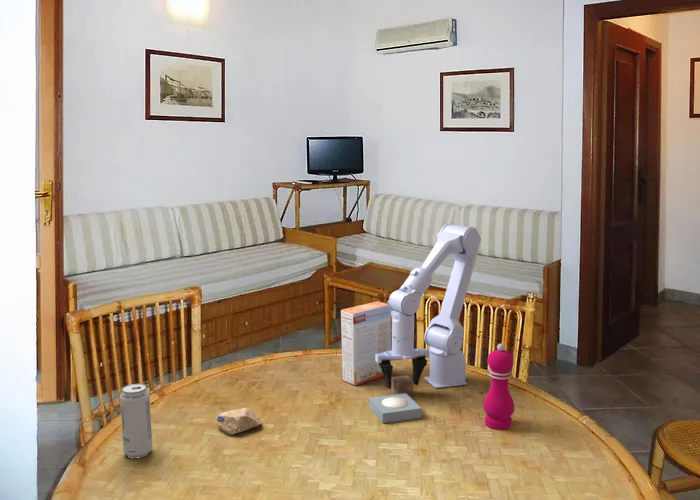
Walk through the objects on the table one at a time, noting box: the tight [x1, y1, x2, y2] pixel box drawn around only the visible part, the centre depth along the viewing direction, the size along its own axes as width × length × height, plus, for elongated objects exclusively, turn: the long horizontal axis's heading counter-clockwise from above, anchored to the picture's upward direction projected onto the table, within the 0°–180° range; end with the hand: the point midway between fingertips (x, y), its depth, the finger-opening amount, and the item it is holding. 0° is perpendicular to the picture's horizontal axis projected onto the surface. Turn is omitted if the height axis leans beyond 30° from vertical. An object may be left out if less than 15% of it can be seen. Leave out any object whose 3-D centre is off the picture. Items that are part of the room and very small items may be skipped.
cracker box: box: [340, 301, 392, 387], centre depth 190 cm, size 14×6×21 cm, turn 130°
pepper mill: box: [482, 343, 515, 431], centre depth 159 cm, size 7×7×20 cm
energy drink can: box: [119, 383, 153, 459], centre depth 146 cm, size 6×6×15 cm
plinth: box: [368, 393, 422, 424], centre depth 168 cm, size 10×10×3 cm
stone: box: [216, 407, 263, 436], centre depth 160 cm, size 8×10×4 cm
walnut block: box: [390, 374, 415, 399], centre depth 179 cm, size 4×4×4 cm
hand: (402, 385), depth 178 cm, fingers open, 7 cm apart
